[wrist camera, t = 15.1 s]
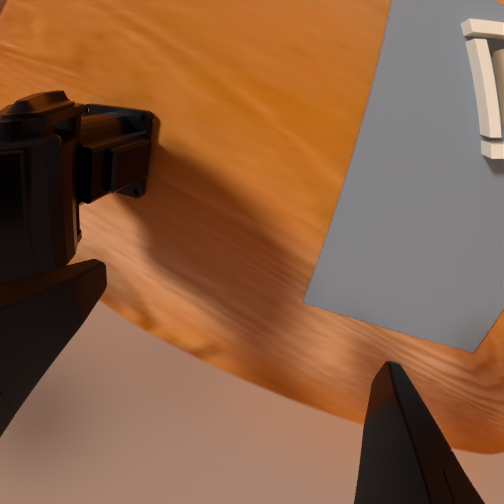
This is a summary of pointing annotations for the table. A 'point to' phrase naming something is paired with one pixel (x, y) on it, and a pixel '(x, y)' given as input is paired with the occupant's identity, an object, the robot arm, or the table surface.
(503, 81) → the birch pillar
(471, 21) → the socket
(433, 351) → the table surface
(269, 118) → the table surface
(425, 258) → the plate
